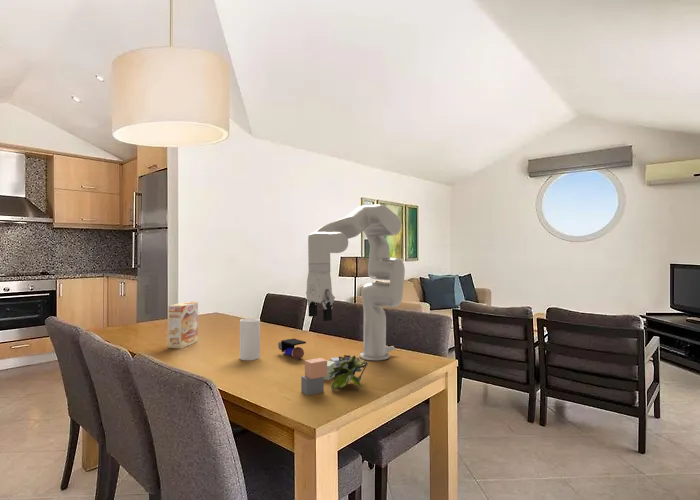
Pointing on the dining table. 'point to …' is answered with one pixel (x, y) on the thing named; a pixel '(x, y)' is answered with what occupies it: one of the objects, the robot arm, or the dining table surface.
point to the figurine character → (291, 348)
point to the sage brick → (329, 369)
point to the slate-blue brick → (335, 360)
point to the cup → (249, 339)
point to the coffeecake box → (182, 324)
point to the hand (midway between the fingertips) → (320, 318)
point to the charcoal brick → (312, 385)
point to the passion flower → (347, 371)
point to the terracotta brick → (315, 368)
